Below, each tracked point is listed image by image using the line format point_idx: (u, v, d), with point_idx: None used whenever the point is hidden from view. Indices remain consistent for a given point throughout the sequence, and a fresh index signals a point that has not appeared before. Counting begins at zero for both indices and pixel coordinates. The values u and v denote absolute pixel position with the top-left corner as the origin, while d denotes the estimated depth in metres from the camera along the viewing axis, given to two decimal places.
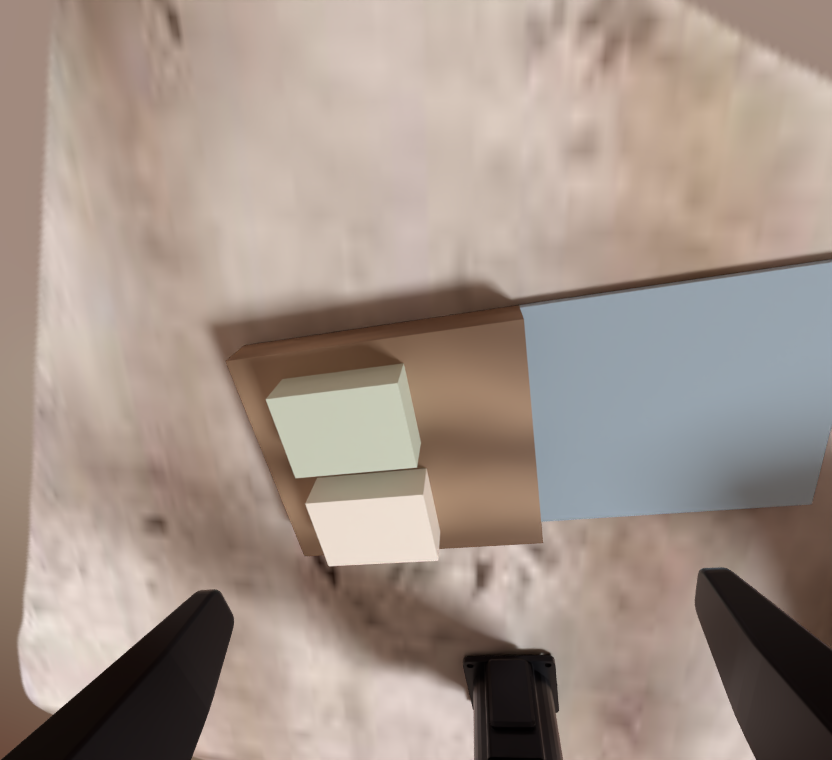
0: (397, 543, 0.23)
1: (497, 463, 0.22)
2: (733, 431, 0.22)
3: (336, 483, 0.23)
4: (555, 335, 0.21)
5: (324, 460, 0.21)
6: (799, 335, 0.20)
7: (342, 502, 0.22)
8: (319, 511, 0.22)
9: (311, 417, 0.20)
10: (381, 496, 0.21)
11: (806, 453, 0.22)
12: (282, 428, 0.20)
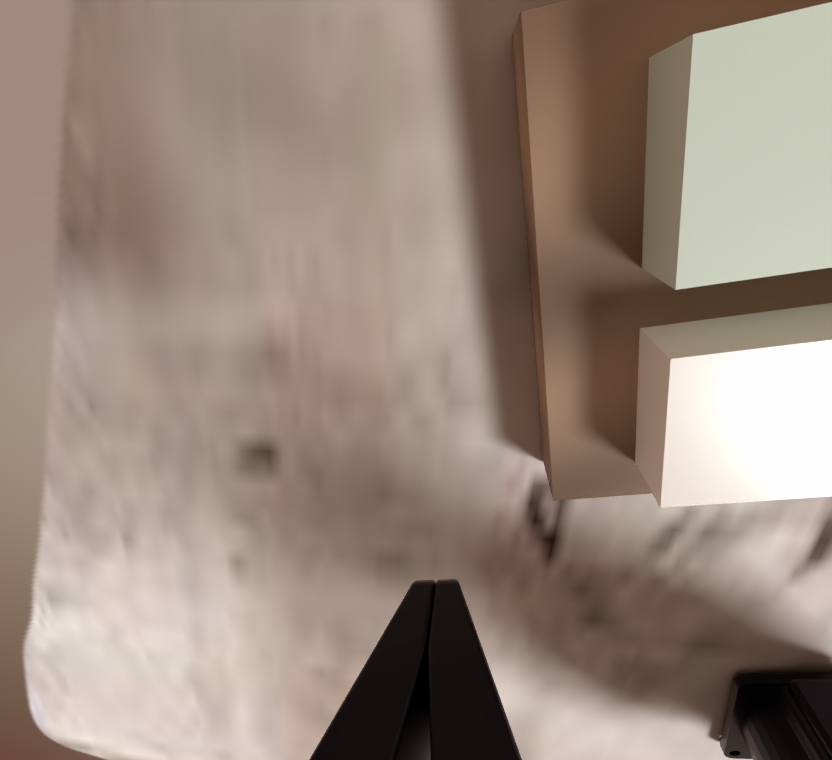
0: None
1: None
2: None
3: (702, 329, 0.11)
4: None
5: (774, 232, 0.09)
6: None
7: (767, 350, 0.10)
8: (697, 377, 0.10)
9: (803, 91, 0.08)
10: None
11: None
12: (701, 136, 0.08)
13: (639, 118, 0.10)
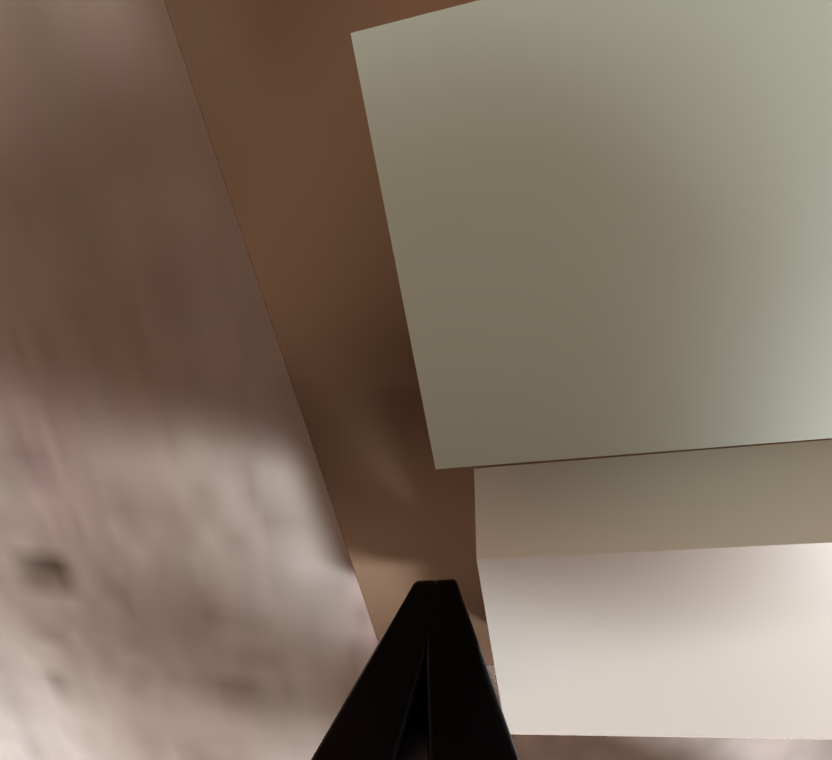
0: (771, 691, 0.07)
1: None
2: None
3: (553, 485, 0.07)
4: None
5: (580, 392, 0.05)
6: None
7: (627, 556, 0.06)
8: (523, 585, 0.06)
9: (588, 150, 0.04)
10: (794, 537, 0.06)
11: None
12: (417, 228, 0.04)
13: None
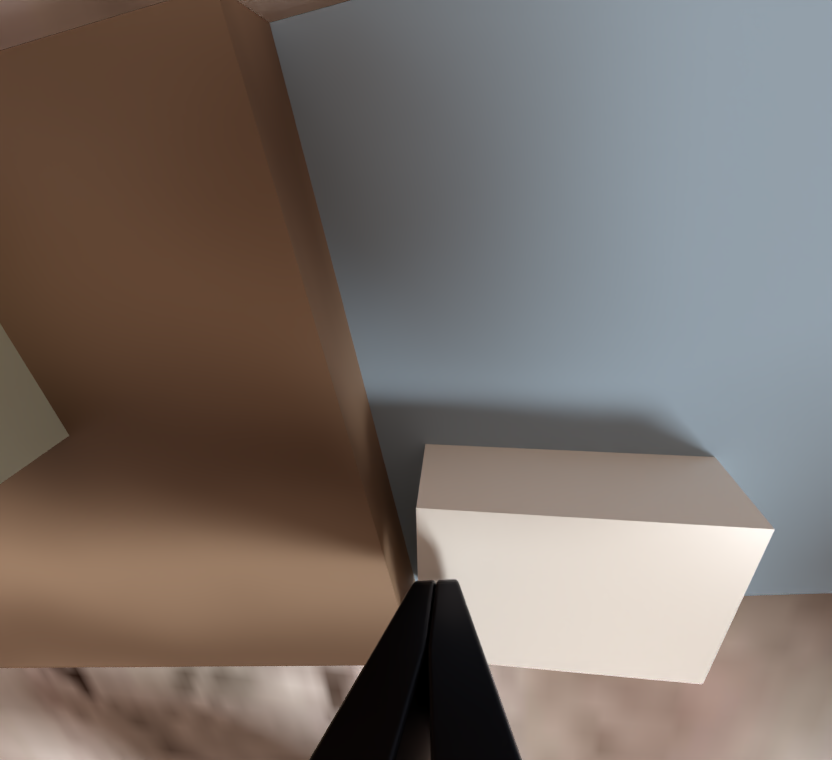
0: (620, 635, 0.09)
1: (269, 490, 0.09)
2: None
3: (484, 463, 0.09)
4: (388, 121, 0.07)
5: None
6: None
7: (526, 518, 0.08)
8: (448, 533, 0.08)
9: None
10: (644, 518, 0.08)
11: None
12: None
13: None
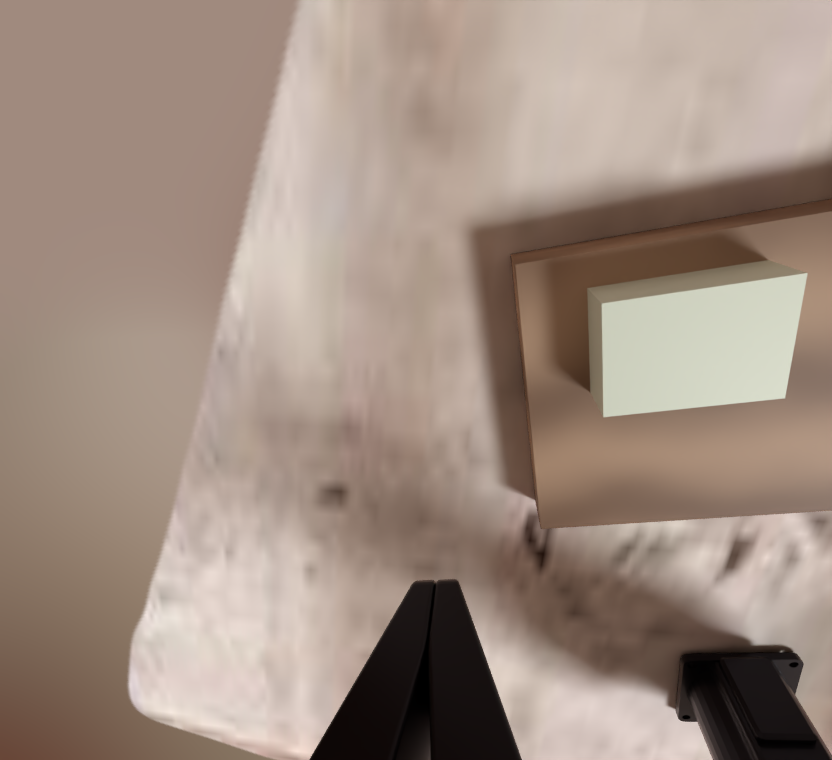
0: None
1: None
2: None
3: None
4: None
5: (654, 390, 0.16)
6: None
7: None
8: None
9: (659, 329, 0.15)
10: None
11: None
12: (610, 346, 0.15)
13: (583, 316, 0.17)
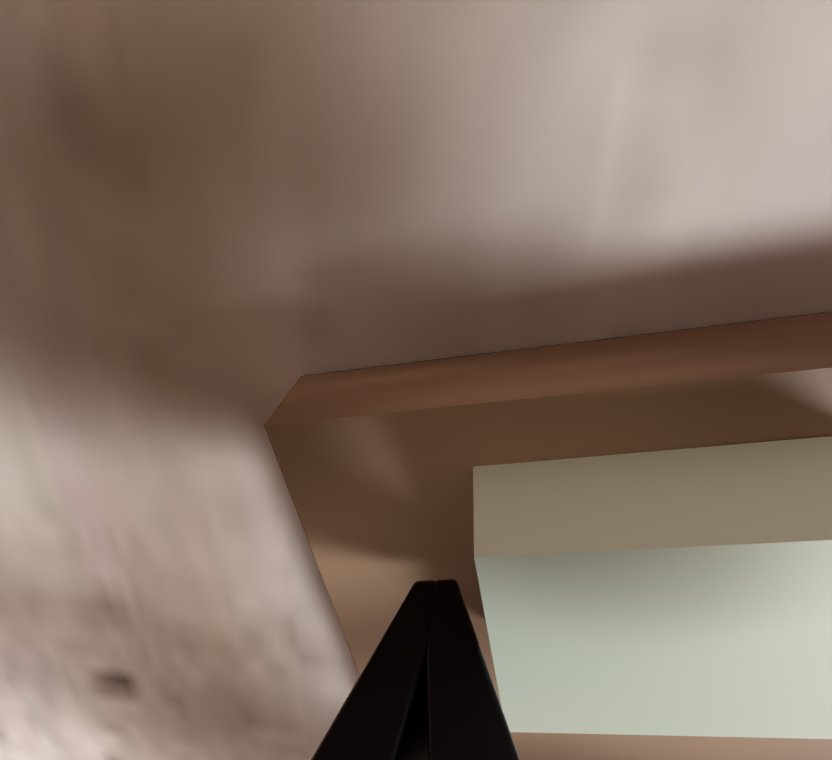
0: None
1: None
2: None
3: None
4: None
5: (606, 705, 0.07)
6: None
7: None
8: None
9: (614, 610, 0.06)
10: None
11: None
12: (505, 629, 0.07)
13: (415, 518, 0.09)
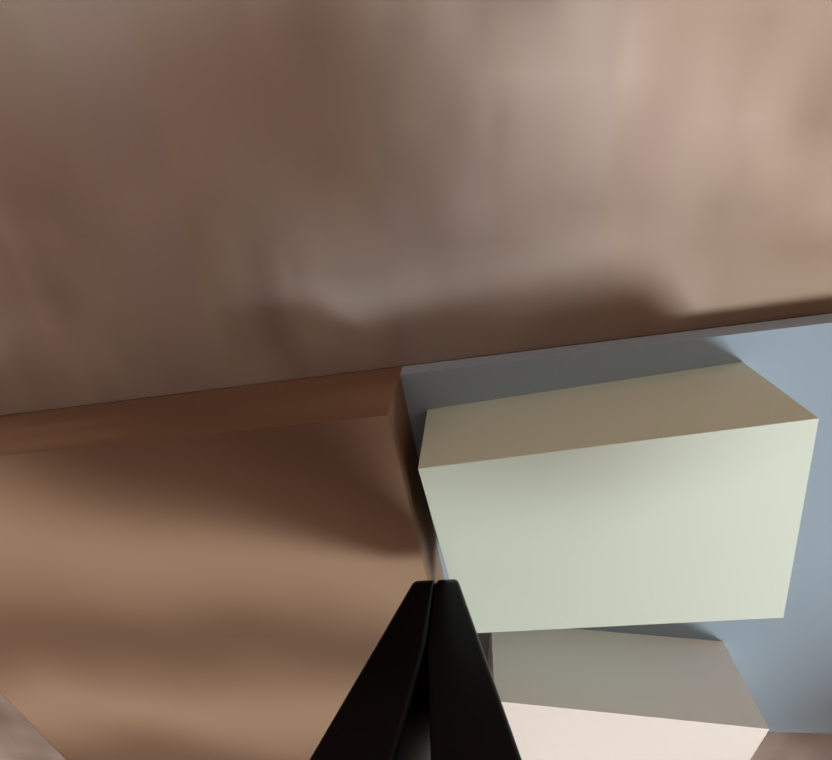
0: None
1: None
2: None
3: (541, 647, 0.12)
4: None
5: (543, 601, 0.09)
6: None
7: (580, 711, 0.10)
8: (518, 716, 0.11)
9: (534, 509, 0.08)
10: (670, 715, 0.10)
11: None
12: (451, 534, 0.08)
13: None
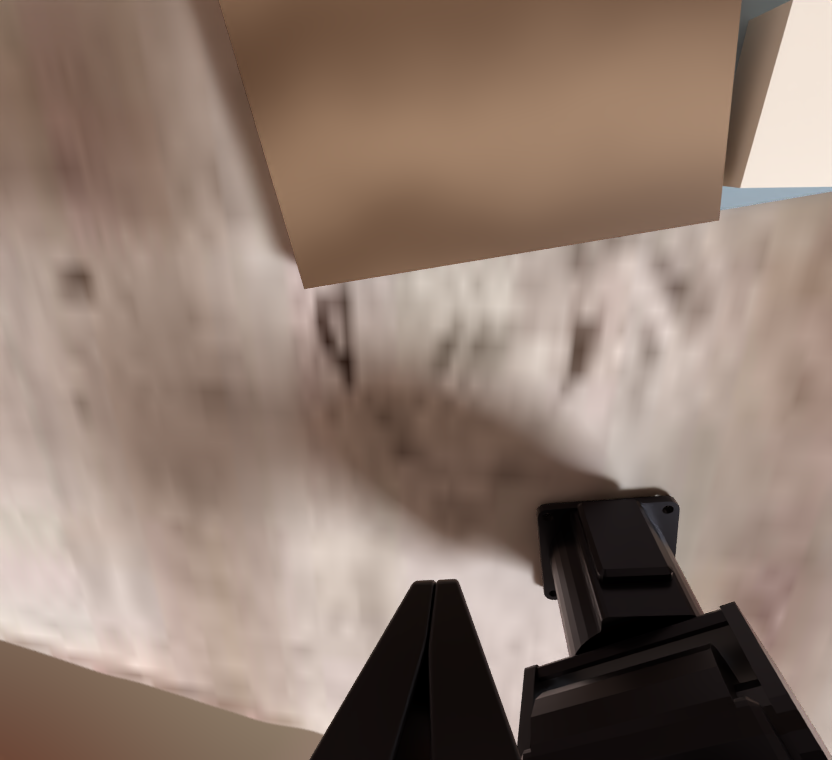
0: None
1: (664, 17, 0.12)
2: None
3: None
4: None
5: None
6: None
7: None
8: (810, 25, 0.11)
9: None
10: None
11: None
12: None
13: None
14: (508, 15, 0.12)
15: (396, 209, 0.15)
